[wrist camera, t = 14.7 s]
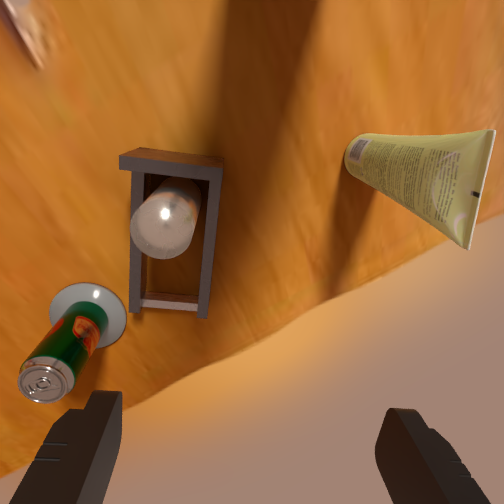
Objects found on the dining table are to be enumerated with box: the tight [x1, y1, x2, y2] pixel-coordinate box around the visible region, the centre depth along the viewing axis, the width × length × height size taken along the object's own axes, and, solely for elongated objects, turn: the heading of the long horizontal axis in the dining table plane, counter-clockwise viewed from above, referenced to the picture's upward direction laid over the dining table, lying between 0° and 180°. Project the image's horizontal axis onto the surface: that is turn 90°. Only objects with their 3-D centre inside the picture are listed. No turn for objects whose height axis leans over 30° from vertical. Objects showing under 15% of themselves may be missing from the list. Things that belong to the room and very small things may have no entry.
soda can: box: [18, 301, 108, 403], centre depth 39 cm, size 5×5×12 cm
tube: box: [344, 129, 496, 250], centre depth 31 cm, size 6×5×20 cm
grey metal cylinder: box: [130, 176, 202, 259], centre depth 35 cm, size 5×5×12 cm
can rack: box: [119, 147, 224, 319], centre depth 38 cm, size 18×9×8 cm, turn 172°
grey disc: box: [49, 282, 127, 348], centre depth 45 cm, size 9×9×1 cm
